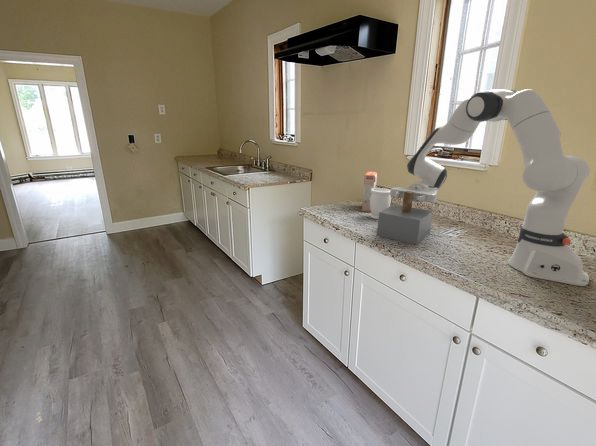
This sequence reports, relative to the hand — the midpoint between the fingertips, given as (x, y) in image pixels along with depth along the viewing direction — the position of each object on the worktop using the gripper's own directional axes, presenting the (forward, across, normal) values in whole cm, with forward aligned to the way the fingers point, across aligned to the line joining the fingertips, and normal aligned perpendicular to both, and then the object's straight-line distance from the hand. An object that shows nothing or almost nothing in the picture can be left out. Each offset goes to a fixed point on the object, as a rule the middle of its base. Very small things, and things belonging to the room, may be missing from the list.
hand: (407, 197), depth 138 cm
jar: (-19, -20, +18) cm, 33 cm away
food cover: (-1, 0, +18) cm, 18 cm away
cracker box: (-31, -32, +18) cm, 48 cm away
